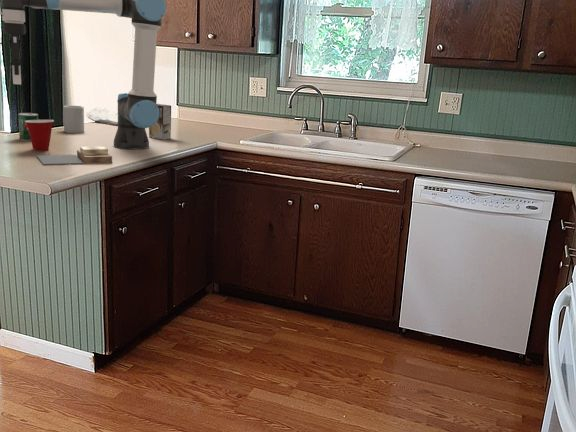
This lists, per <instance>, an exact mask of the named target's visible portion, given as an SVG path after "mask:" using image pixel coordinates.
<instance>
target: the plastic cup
mask: <svg viewBox="0 0 576 432" xmlns="http://www.w3.org/2000/svg"><path fill="white" fill-rule="evenodd" d="M25 122H26V124H27V126H28V129H29V134H30V138H31V141H30V142H31V145H32V149H33V150H34V151H39V152H41V151H44V152H45V151H49V148H50V144H51V143H50V142H51V137H52V129H53V124H54V122H55V120H54V119H38V120H27V121H25Z"/></svg>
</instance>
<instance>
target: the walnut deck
mask: <svg viewBox="0 0 576 432" xmlns="http://www.w3.org/2000/svg"><path fill="white" fill-rule="evenodd" d="M76 156H77V157H78V158H79V159H80V160H81V161H83V162H84V165H85V164H86V163H88V164H112V163H113V156H112V155H111V154H109V153H108V154H103V155H83V154H82V153H81V152H80V149H77V150H76Z"/></svg>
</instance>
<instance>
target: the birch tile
mask: <svg viewBox="0 0 576 432" xmlns="http://www.w3.org/2000/svg"><path fill="white" fill-rule="evenodd" d="M79 150H80V152H81V153H82V154H83V155H103V154H109V149H108V148H107V147H106V146H105V145H104V146H80V149H79Z"/></svg>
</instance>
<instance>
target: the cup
mask: <svg viewBox="0 0 576 432" xmlns="http://www.w3.org/2000/svg"><path fill="white" fill-rule="evenodd" d="M84 110H85V107H84V106H81V105H63V131H64V132H65V133H70V134H82V133H85V111H84Z"/></svg>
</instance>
